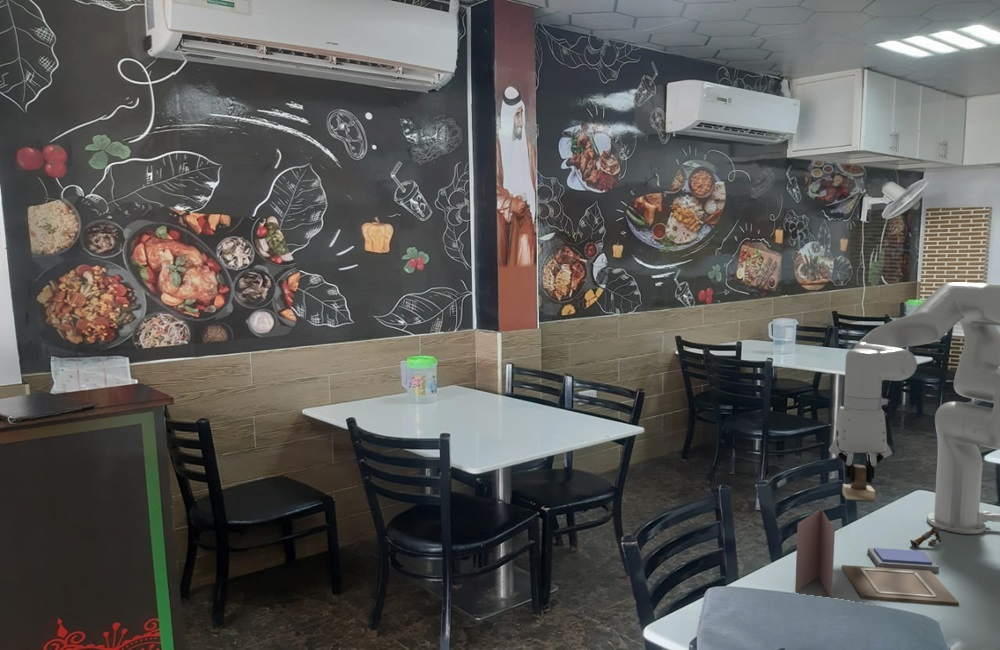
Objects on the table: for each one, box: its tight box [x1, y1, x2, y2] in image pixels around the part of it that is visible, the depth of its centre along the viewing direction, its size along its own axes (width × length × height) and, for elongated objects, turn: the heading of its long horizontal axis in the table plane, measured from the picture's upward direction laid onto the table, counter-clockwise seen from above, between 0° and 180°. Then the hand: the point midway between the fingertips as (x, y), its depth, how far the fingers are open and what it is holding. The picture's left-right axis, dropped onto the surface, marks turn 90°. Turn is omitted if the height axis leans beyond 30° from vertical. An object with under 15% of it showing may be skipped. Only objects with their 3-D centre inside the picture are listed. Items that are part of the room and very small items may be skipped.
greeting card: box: [794, 508, 836, 598], centre depth 148 cm, size 11×7×15 cm, turn 133°
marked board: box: [841, 564, 960, 606], centre depth 149 cm, size 18×14×1 cm
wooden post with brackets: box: [909, 526, 942, 549], centre depth 169 cm, size 2×8×4 cm, turn 106°
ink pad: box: [867, 547, 940, 573], centre depth 160 cm, size 12×8×2 cm, turn 79°
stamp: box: [841, 464, 876, 503], centre depth 165 cm, size 6×4×8 cm, turn 76°
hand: (858, 480), depth 165 cm, fingers closed on stamp, 3 cm apart
